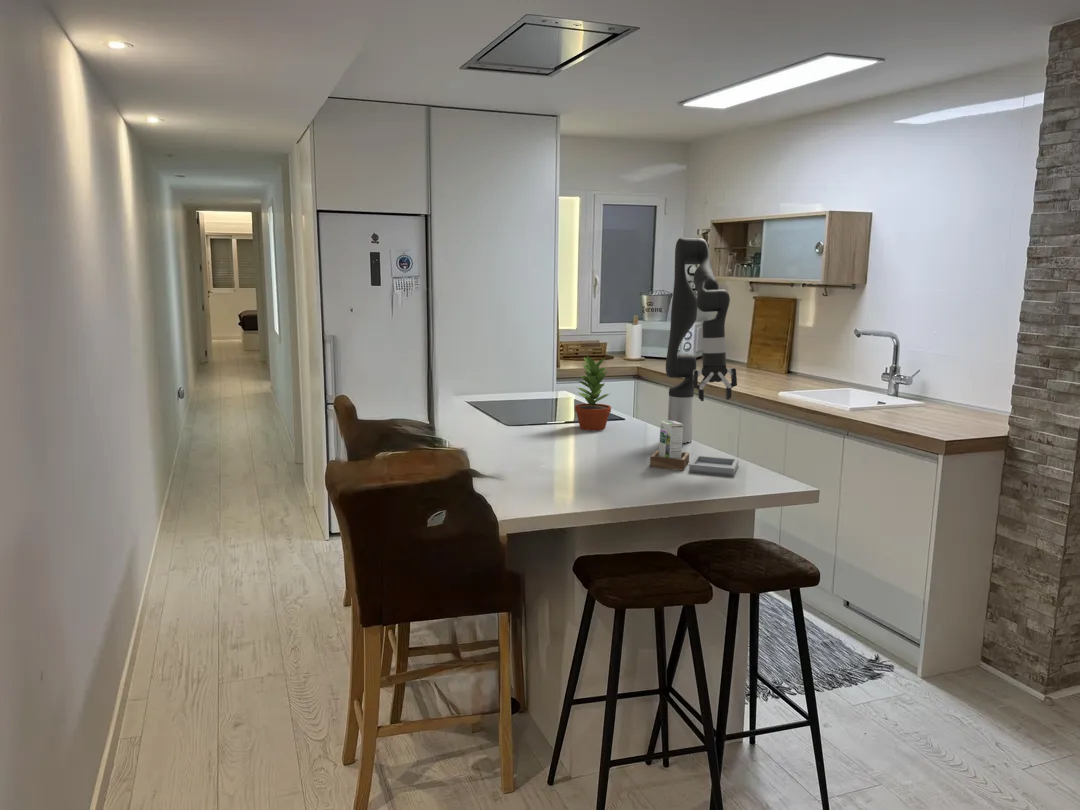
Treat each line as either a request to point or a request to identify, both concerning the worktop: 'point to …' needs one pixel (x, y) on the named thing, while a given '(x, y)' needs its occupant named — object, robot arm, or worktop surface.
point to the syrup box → (670, 439)
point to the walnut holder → (669, 461)
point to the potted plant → (592, 398)
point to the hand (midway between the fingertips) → (714, 400)
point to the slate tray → (714, 465)
